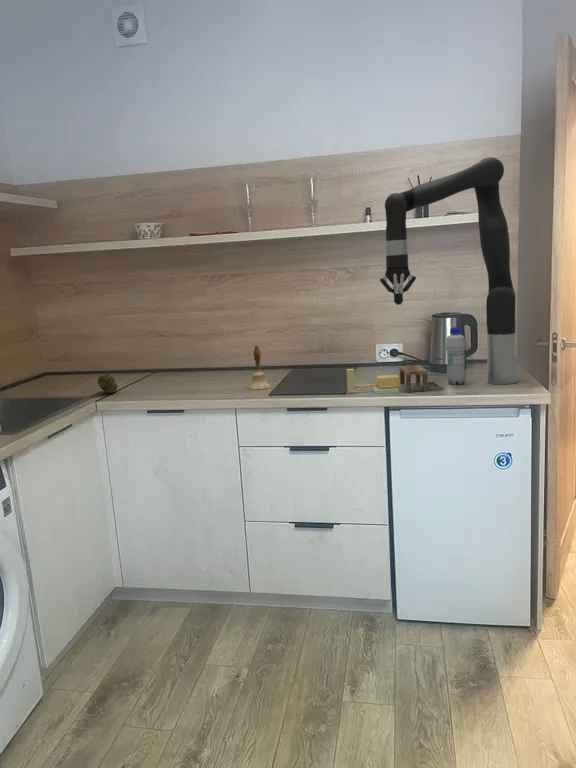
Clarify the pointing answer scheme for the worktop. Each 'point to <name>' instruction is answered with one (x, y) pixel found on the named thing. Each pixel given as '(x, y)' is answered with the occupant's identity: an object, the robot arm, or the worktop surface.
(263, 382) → the hand bell
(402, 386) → the track
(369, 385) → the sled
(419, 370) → the small wooden table
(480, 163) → the robot arm
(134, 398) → the worktop surface
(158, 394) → the worktop surface
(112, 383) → the potato
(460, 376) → the bottle
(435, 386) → the pit
